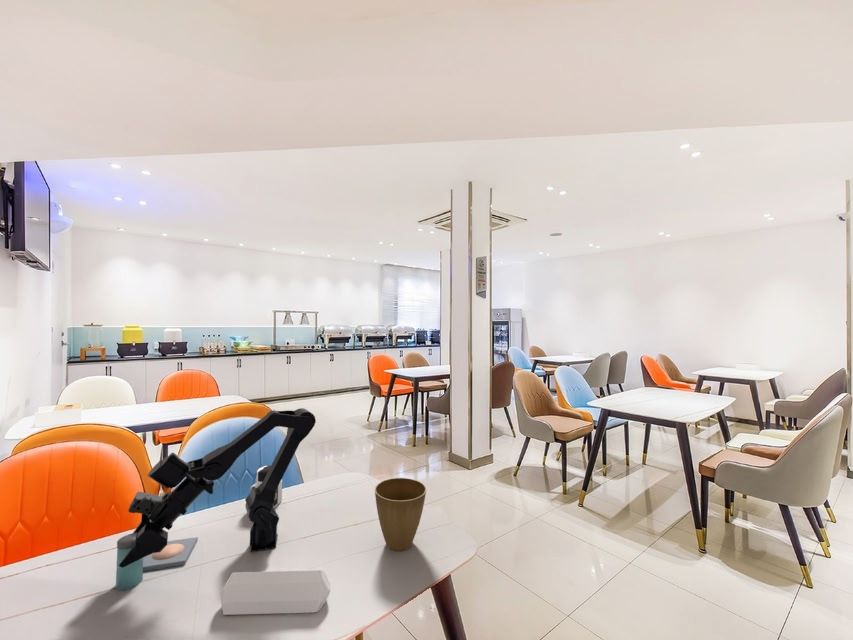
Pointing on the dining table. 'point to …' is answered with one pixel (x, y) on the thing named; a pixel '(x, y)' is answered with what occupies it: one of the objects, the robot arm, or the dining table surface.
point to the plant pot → (399, 510)
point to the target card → (170, 554)
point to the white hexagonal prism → (275, 592)
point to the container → (260, 477)
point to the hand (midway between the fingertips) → (123, 555)
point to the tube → (131, 572)
